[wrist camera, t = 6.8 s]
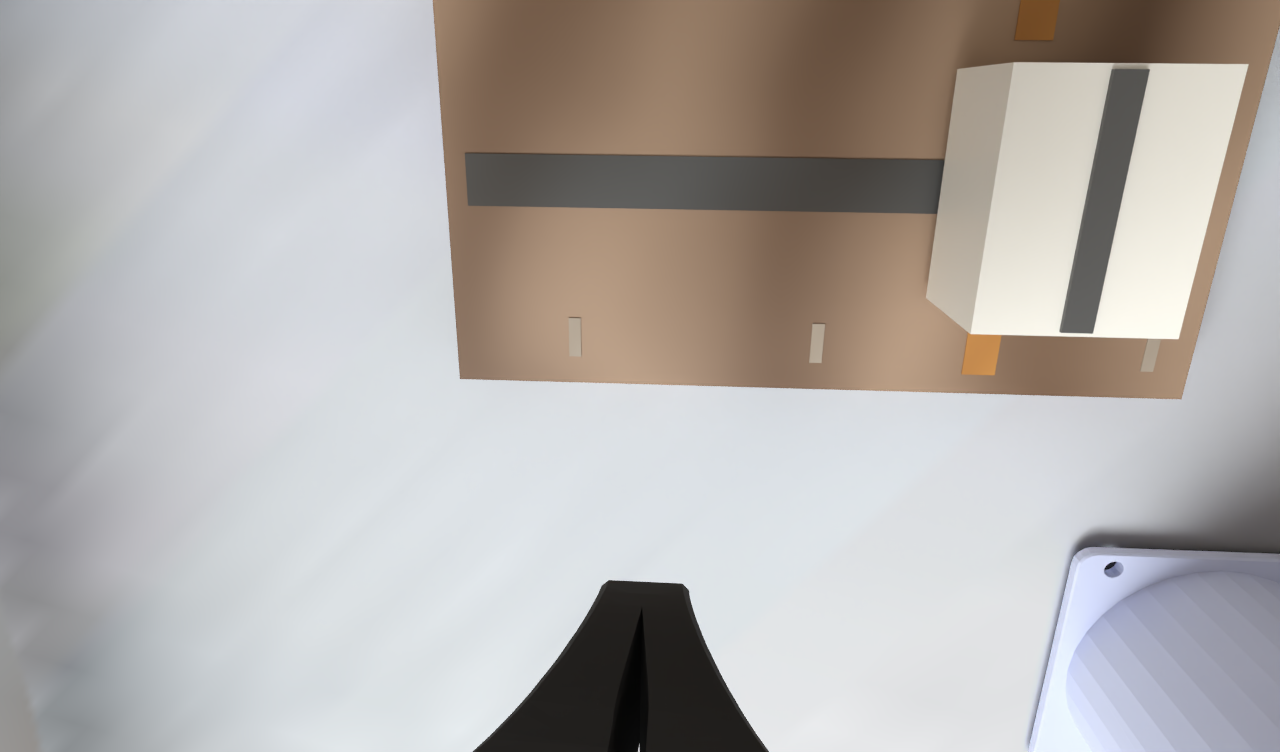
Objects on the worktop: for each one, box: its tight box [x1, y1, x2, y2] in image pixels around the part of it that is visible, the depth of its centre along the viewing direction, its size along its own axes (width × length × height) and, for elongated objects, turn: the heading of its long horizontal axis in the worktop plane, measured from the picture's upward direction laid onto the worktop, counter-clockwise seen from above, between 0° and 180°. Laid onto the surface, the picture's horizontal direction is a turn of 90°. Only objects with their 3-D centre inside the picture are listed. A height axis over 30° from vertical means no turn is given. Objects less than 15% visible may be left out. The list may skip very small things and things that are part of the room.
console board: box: [433, 0, 1280, 399], centre depth 18 cm, size 18×10×2 cm, turn 89°
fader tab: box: [926, 62, 1249, 339], centre depth 16 cm, size 4×5×3 cm
